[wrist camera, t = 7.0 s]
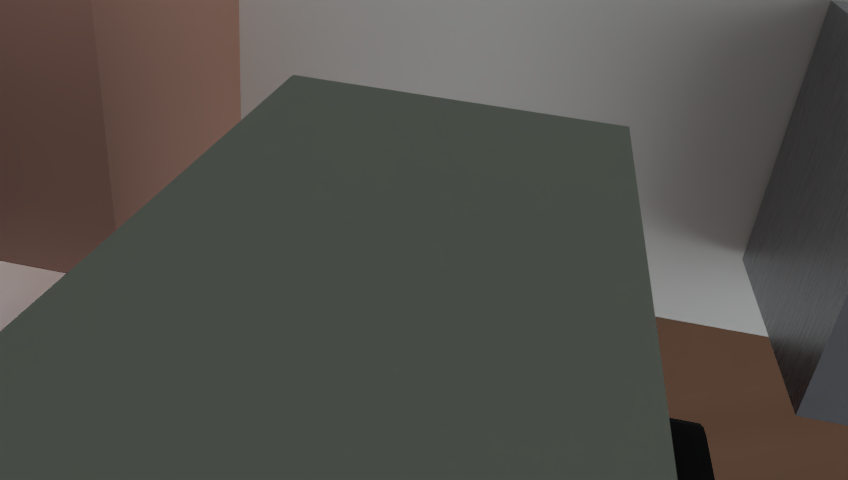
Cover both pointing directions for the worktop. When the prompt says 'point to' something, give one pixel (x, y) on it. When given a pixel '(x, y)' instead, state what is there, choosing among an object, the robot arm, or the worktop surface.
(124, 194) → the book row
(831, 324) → the bookend
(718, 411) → the worktop surface
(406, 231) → the pale green block
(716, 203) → the shelf board
